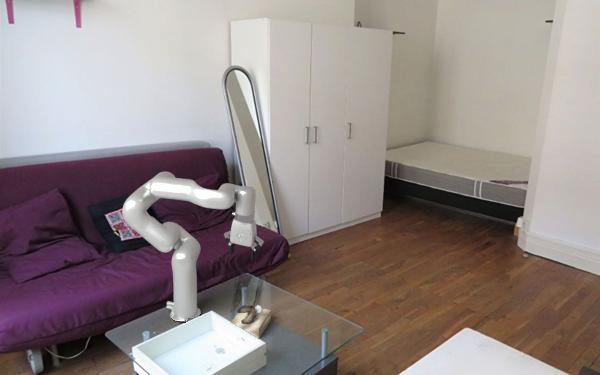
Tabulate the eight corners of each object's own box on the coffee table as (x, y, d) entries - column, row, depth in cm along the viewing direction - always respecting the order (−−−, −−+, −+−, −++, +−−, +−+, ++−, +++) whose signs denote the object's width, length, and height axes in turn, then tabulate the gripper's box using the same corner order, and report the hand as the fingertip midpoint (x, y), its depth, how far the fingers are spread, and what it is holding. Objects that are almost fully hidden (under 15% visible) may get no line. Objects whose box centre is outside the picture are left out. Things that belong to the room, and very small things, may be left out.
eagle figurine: (244, 307, 197) (232, 313, 189) (254, 296, 194) (242, 302, 186) (256, 321, 194) (244, 328, 186) (266, 310, 192) (254, 317, 184)
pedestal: (230, 332, 190) (231, 321, 188) (244, 314, 203) (245, 304, 201) (258, 338, 186) (258, 328, 185) (270, 320, 199) (271, 310, 198)
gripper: (220, 215, 186) (219, 255, 191) (261, 224, 181) (258, 264, 186) (229, 210, 192) (227, 248, 197) (268, 218, 188) (265, 257, 193)
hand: (242, 256), depth 192 cm, fingers open, 9 cm apart
